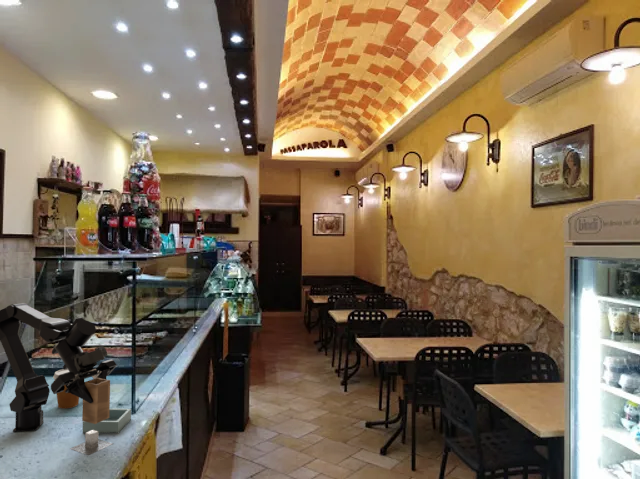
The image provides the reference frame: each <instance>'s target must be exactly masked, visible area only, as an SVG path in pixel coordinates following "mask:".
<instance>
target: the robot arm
mask: <svg viewBox="0 0 640 479" xmlns="http://www.w3.org/2000/svg"><path fill="white" fill-rule="evenodd" d="M21 322H22V323H24V324H25V325H28V326H30V327H31V328H33V329H35V330H36V331H38V336H39V337H40V338H42V339H43V340H44V341H45V342H47V343H53V342H56V341H58V343H56V344H53V345H52V346H53V347H52V350H51V355H55V354H58V355H59V357H60V359H61V360H62V362H63V366H62V369H64V370H65V369H68V370H69V372H67V373H64V374H61V375H59V376H58V377H57V378H56V379H55V380H54V381H53V382H51V384H50V385H49V383H48V382H47V379H46V376H45V375H44V374H41V375H38V374H37V373H35V371H34V368H33V365H32V364H31V362H30V358H29V356H28V353H27V352H26V350H25V348H24V347H25V346H24V345H23V343H22V339H21V337H20V335H19V331H20V328H21ZM96 331H97V328H96V325H95V324H94V323H92V322H91V321H89V320H88V319H84V317H82V316H81V317H76V318H75V319H74V321H73V323H72V322H70V321H69V320H67V319H64V318H61V317H60V318H59V317H50V316H48V315H47V314H45V313H43V312H41V311H39V310H37V309H36V308H33V307H31V306H30V305H29V304H28V303H26V302H19V303H12V304H10V305H8V306H6V307H5V308H3V309H0V343H1V345H2V348H3V350H4V353H5V355H6V358H7V360H8V363H9V365H10V368H11V370H12V372H13V375H14V376H15V379H16V384H15V389H14V394H15V397H14V398H13V399H12V400H11V402H10V403H9V409H10V411H11V412H14V413H15V422H14V423H15V425H14V426H15V427H14V428H13V429H12V432H13V433H14V432H29V431H32V432H33V431H37V430H38V429H39V428H40V427H41V426H42V424H43V423H44V410H43V409H42V406H44V405H47V402H48V400H49V396H50V390H51V392H52V393H53V395H57V393H60V392H63V391H64V388H65V387H64V385H66V387H67V389H66V391H65V393H71V394H73V395H75V396H77V397H79V399H82V401H83V400H85V401H87V402H89V403H92V402H93V398H92V396H91V394H90V393H89V391H88V389H87V388H86V386H85V383H84V382H85V379H88V378H91V377H92V379H95V378H102V379H107V377H108V376H109V375H110V374H111V373H112V372H113V371H114V369H115V368H116V367H117V366H118V364H117V363H116V361H115V360H114V359H108V360H105V357H107V356H108V352H107V348H105V346H103V345H102V346H98V347H97V348H95V349H94V350H93V351H92V350H91V351H90V352H89V351H84V350H83V349H82V347H83V346H85V345H86V344H87V343H88V342H89V341H90V339H91V338H92V337H93V336H94V334H95V333H96ZM104 360H105V361H104ZM100 361H101V362H100ZM98 362H100V363H99V365H98ZM97 365H98V366H97ZM96 366H97V367H96ZM94 367H96V368H94ZM49 386H50V388H49Z"/></svg>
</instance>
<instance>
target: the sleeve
mask: <svg viewBox="0 0 640 479" xmlns="http://www.w3.org/2000/svg"><path fill="white" fill-rule="evenodd" d="M84 383H85V386H86V388H87V389H88V391H89V393H90V394H91V396H92V398H93V402H92V403H89V402H87V401H85V400H83V399H82V414H81V415H82V416H81V417H82V418H81V421H82V422H83V421H85V422H89V423H93V424H96V423H99V422H101V421H103V420H105V419H108V418H109V412H110V409H111V407H110V406H111V405H110V404H111V401H110V400H111V399H110V398H111V397H110V396H111V380H110V379H107V378H106V379H102V378H95V379H93V378H92V379H89V380H86V381H84Z"/></svg>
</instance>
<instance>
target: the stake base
mask: <svg viewBox="0 0 640 479" xmlns="http://www.w3.org/2000/svg"><path fill="white" fill-rule="evenodd" d="M99 434H100V433H99V431H95V430H91V431H89V432H86V433H84V435H85V436H84V437H85V439H84V442H81V443H79V444H77V445H74V446H72V447H71V448H70V447H69V450H72V451H75V452H78V453H80V454H83V455H87V456H91V455H93V454H94V453H97V452H100V451H101V450H104V449H106V448H107V447H110V446H112V445H114V443H113V442H109V441H106V440H103V439H100V438H99Z"/></svg>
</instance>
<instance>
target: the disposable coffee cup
mask: <svg viewBox="0 0 640 479" xmlns="http://www.w3.org/2000/svg"><path fill="white" fill-rule="evenodd" d="M67 372H69V370H68V369H65V370H64V368H62V369H59V370H57V371H55V372H54V375H53V376H52V378H53V379H54V381H55V379H56V378H57V377H58V376H59V375H61V374H64V373H67ZM64 387H65V388H64V391H63V392H60V393H57V394H56V400H57V401H56V402H57V407H58V409H65V410H66V409H72V408H74V407H77V406H78V405H79V402H80V398H79V397H77V396H75V395H73V394H71V393H65V391H66V389H67V387H66V385H64Z"/></svg>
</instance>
